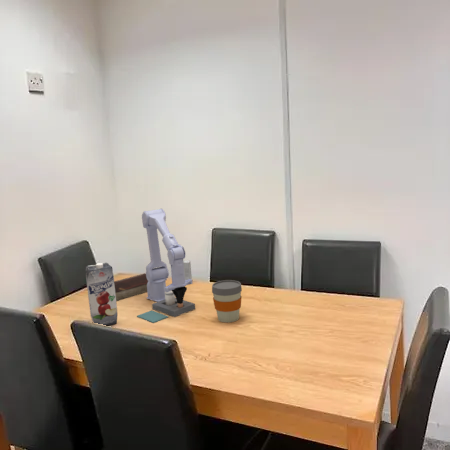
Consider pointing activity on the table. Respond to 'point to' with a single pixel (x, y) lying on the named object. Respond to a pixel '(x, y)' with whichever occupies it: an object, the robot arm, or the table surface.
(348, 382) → the table surface
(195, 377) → the table surface
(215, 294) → the reusable coffee cup
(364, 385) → the table surface
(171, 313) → the grey board with holes
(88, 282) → the juice carton
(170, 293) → the filter cartridge
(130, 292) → the hardback book
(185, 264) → the skincare box
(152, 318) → the mat
